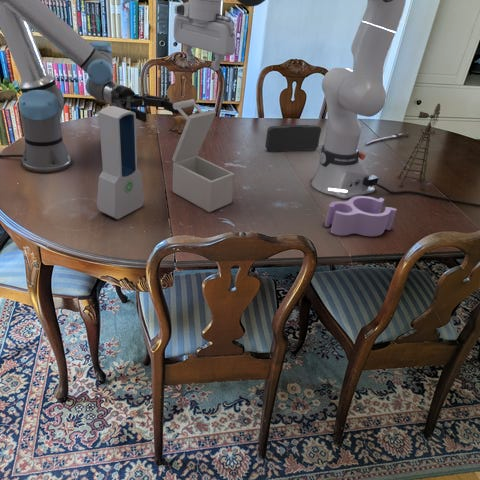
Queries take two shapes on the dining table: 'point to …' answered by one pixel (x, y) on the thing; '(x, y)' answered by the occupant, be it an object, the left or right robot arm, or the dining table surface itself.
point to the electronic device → (119, 164)
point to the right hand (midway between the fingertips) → (202, 66)
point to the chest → (203, 183)
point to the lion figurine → (180, 121)
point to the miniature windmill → (428, 131)
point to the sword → (385, 138)
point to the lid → (192, 130)
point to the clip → (359, 216)
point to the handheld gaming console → (292, 137)
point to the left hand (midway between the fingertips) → (162, 113)
